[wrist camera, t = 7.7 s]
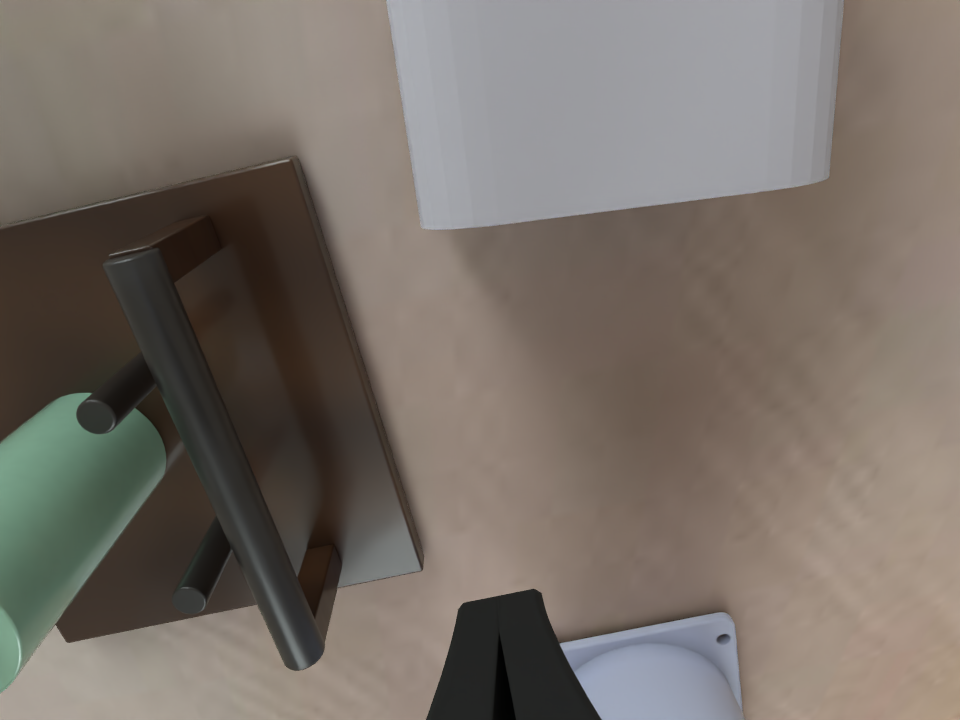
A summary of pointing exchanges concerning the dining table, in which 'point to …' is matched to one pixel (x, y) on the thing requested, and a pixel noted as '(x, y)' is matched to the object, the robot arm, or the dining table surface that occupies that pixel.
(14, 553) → the bottle
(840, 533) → the dining table surface
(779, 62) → the charger
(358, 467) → the rack
